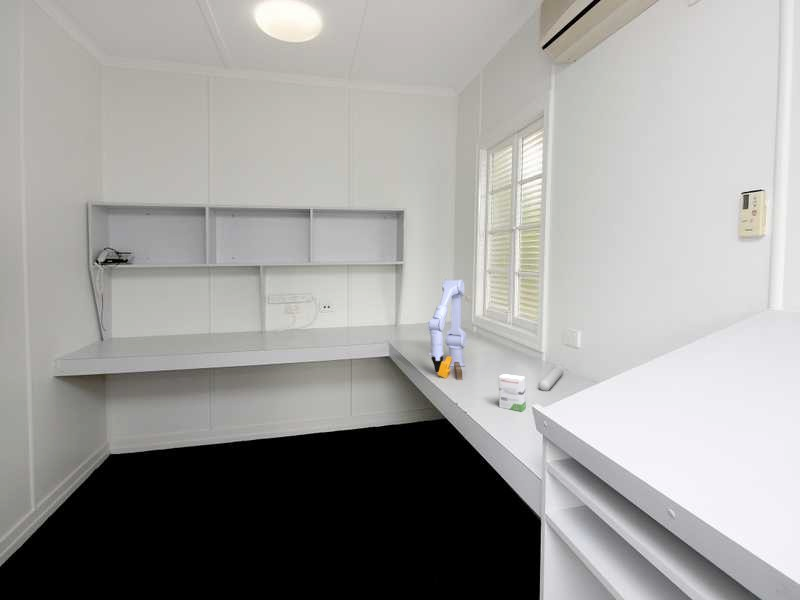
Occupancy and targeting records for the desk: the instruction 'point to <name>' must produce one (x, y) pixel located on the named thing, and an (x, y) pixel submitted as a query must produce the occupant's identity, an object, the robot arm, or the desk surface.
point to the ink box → (512, 392)
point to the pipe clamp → (445, 367)
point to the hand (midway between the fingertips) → (437, 372)
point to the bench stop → (458, 370)
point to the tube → (551, 378)
